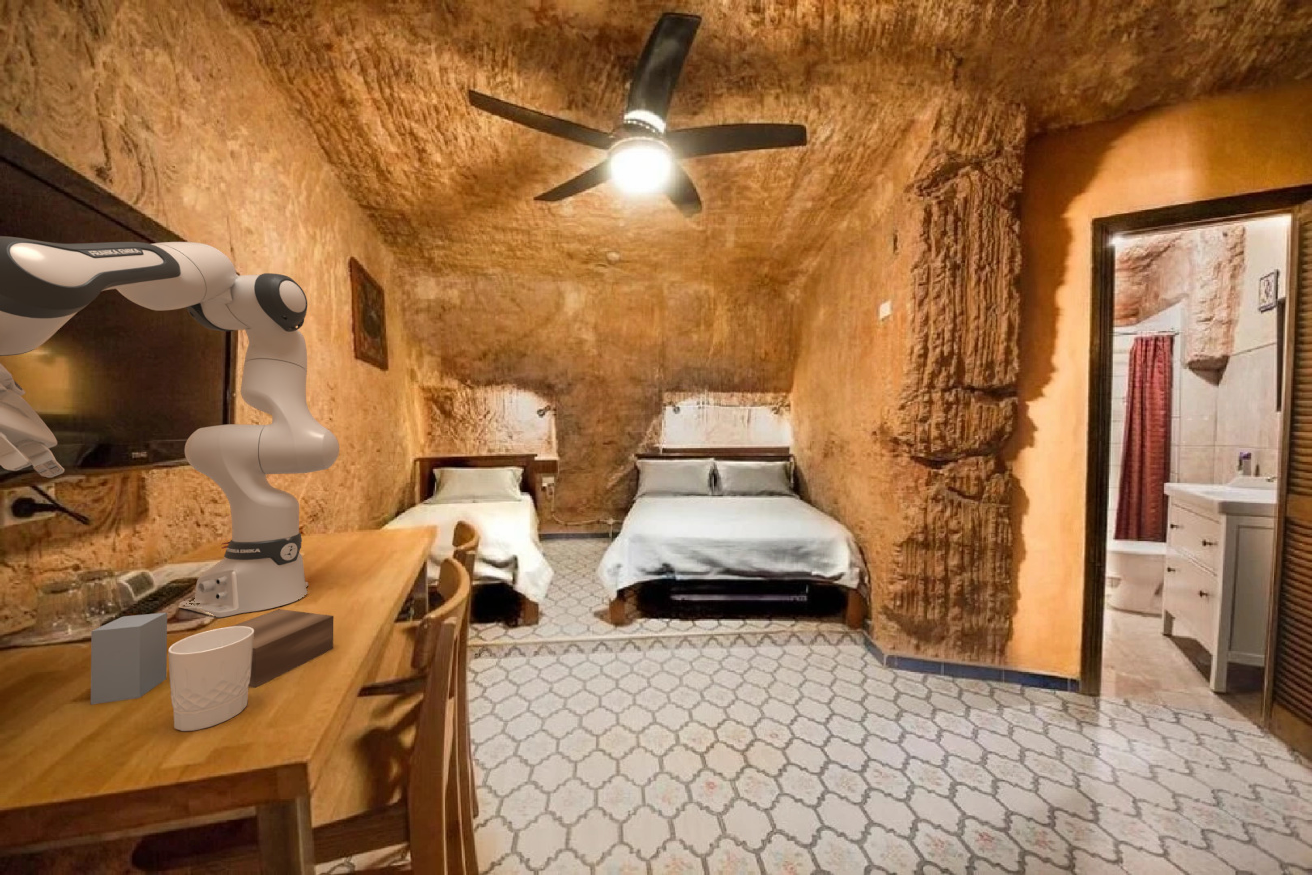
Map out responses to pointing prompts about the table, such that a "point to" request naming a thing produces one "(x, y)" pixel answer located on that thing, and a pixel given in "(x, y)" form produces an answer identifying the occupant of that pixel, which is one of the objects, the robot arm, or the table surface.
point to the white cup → (210, 676)
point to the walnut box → (286, 642)
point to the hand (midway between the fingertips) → (39, 471)
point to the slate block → (128, 657)
